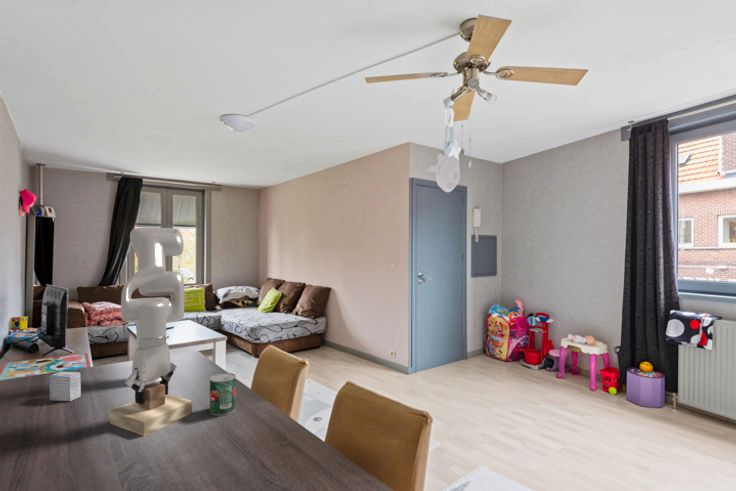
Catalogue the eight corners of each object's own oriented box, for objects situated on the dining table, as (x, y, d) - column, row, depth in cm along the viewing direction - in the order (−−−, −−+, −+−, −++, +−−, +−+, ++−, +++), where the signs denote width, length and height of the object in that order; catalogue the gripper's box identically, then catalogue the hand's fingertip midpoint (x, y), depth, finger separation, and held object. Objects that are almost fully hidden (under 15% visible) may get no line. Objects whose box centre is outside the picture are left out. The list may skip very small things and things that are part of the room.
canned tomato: (204, 412, 124) (204, 378, 124) (223, 403, 131) (223, 371, 131) (221, 418, 120) (221, 383, 120) (240, 408, 127) (240, 375, 127)
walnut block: (154, 400, 123) (154, 382, 122) (165, 403, 120) (165, 384, 120) (139, 407, 118) (139, 387, 118) (150, 410, 116) (150, 390, 116)
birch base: (158, 403, 130) (158, 391, 130) (192, 413, 123) (192, 400, 123) (109, 423, 115) (109, 410, 115) (144, 436, 109) (144, 422, 109)
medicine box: (81, 396, 135) (81, 372, 135) (70, 402, 130) (70, 376, 130) (60, 395, 136) (60, 371, 135) (48, 400, 131) (48, 375, 131)
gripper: (169, 334, 128) (169, 386, 129) (116, 347, 113) (116, 407, 113) (185, 336, 125) (184, 391, 125) (132, 350, 109) (132, 412, 110)
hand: (152, 398), depth 119 cm, fingers open, 7 cm apart
